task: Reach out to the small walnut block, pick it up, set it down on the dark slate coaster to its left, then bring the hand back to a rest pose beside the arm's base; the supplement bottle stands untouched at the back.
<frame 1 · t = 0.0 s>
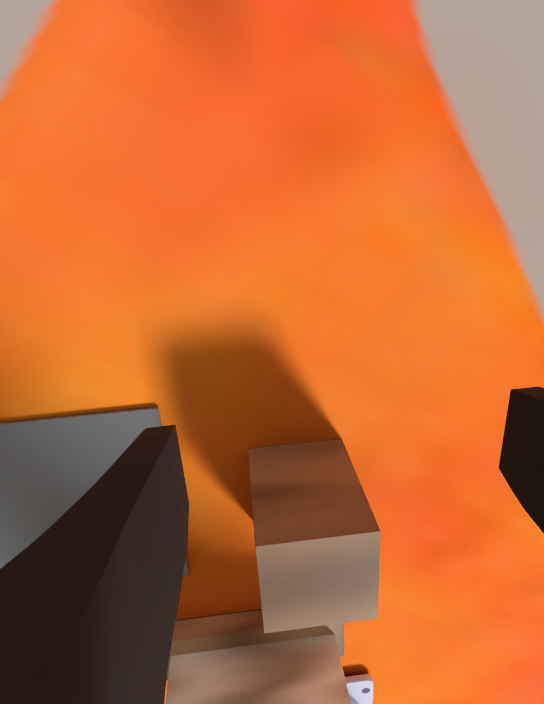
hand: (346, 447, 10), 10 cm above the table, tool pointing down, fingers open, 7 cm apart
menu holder: (253, 629, 26), on the table
coaster: (69, 508, 22), on the table
walnut block: (296, 481, 23), on the table
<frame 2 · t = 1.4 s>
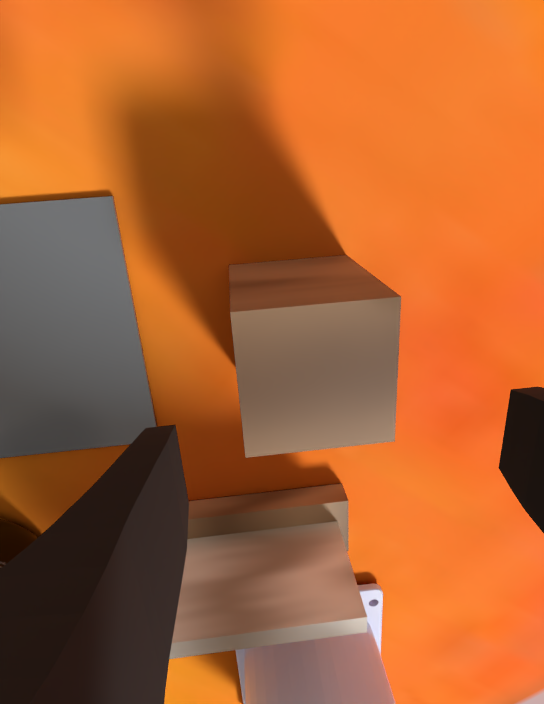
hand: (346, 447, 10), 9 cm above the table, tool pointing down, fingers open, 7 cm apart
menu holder: (239, 520, 22), on the table
coaster: (6, 342, 18), on the table
walnut block: (290, 315, 18), on the table
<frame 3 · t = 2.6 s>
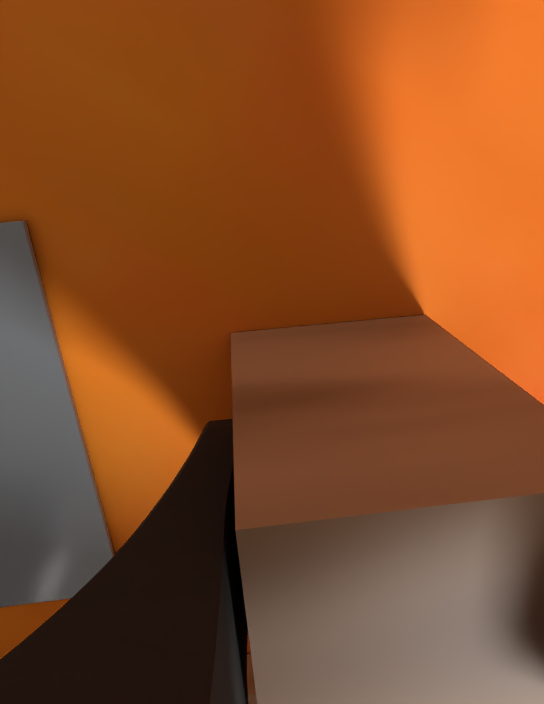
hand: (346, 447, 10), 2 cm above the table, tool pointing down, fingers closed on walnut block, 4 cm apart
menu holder: (245, 685, 15), on the table
walnut block: (330, 409, 11), on the table, touching gripper
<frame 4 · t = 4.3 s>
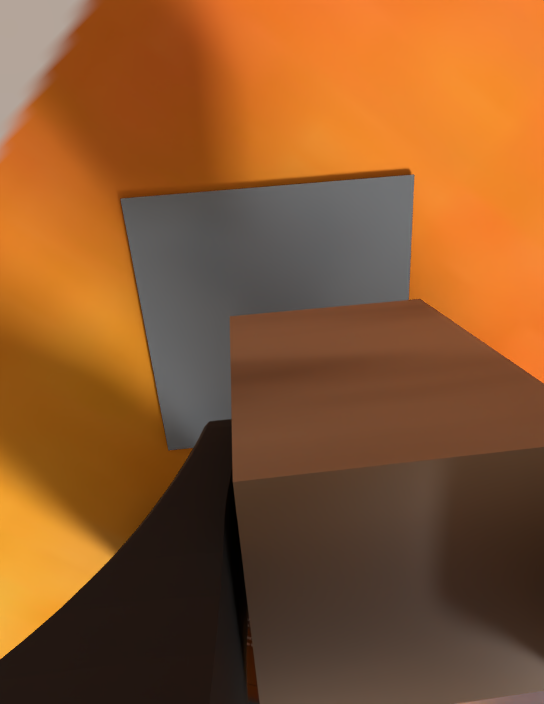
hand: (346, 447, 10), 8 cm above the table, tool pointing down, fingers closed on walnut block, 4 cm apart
supplement bottle: (210, 548, 22), on the table
coaster: (279, 324, 18), on the table
walnut block: (327, 393, 12), point 6 cm above the table, touching gripper
when the fingers open (3 cm above the table, at t = 5.8 s): walnut block drops 1 cm, resting on coaster.
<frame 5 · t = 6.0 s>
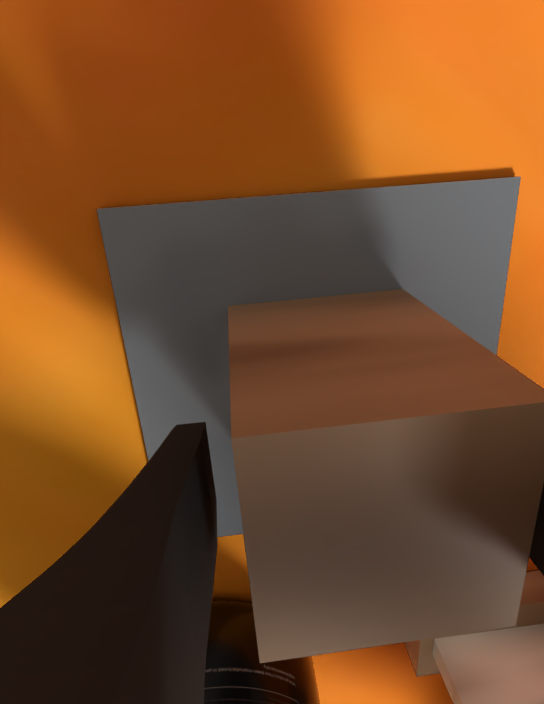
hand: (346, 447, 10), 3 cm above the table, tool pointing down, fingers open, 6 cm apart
supplement bottle: (219, 654, 17), on the table
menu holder: (537, 599, 17), on the table
coaster: (318, 381, 13), on the table
walnut block: (319, 376, 13), resting on coaster
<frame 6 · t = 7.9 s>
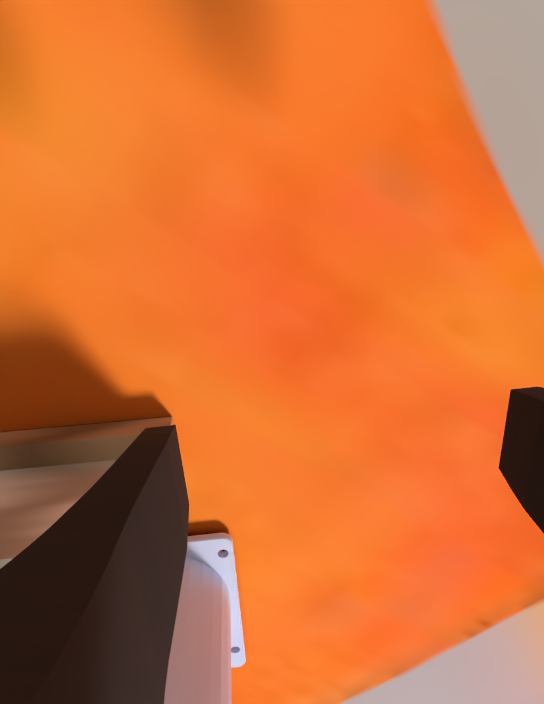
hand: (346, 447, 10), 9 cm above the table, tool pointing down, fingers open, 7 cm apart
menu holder: (61, 456, 20), on the table
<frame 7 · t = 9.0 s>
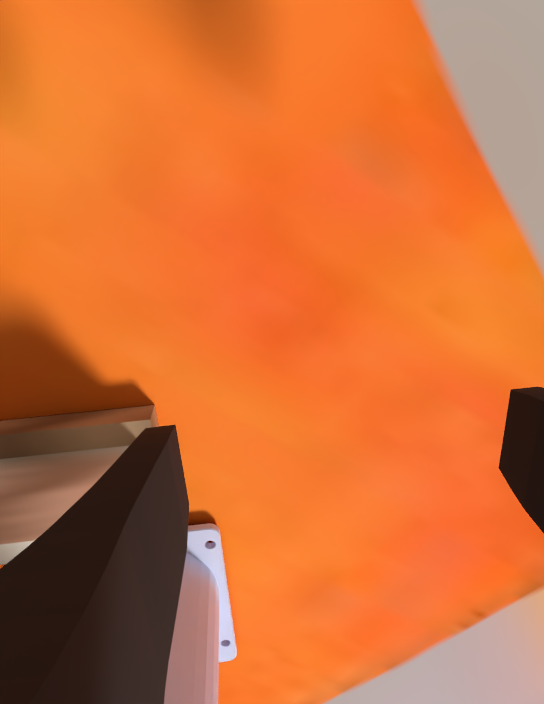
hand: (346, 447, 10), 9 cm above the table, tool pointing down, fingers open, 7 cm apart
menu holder: (43, 447, 20), on the table
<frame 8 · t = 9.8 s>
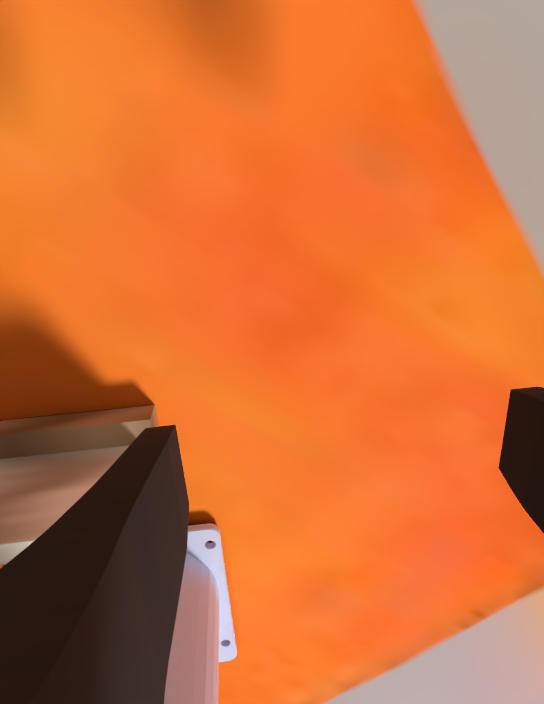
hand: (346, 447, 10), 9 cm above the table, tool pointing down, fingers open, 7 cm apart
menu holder: (43, 447, 20), on the table
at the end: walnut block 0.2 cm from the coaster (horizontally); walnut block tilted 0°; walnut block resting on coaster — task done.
